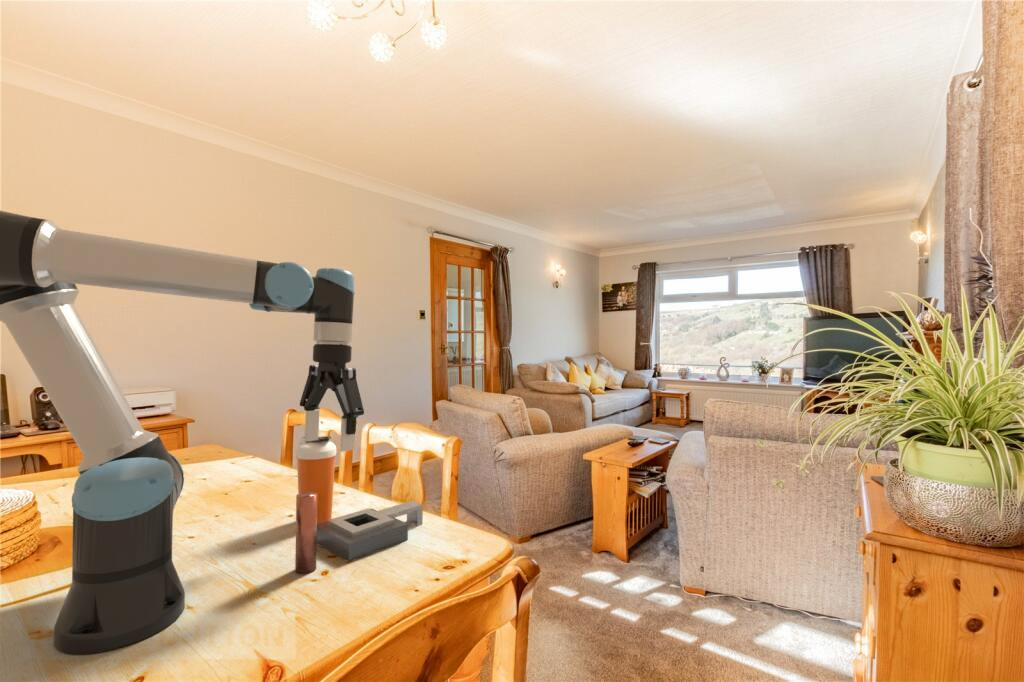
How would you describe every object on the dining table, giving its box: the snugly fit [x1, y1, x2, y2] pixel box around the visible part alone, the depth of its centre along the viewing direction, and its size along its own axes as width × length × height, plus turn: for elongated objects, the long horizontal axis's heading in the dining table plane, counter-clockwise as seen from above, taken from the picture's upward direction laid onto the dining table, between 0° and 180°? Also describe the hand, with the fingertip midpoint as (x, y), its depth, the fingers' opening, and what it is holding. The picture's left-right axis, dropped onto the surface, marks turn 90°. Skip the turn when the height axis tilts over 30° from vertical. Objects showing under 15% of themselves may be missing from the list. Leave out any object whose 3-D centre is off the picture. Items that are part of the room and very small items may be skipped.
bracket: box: [327, 500, 424, 538], centre depth 105 cm, size 20×10×4 cm, turn 139°
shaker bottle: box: [295, 435, 337, 524], centre depth 113 cm, size 9×9×20 cm
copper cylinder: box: [294, 492, 318, 576], centre depth 88 cm, size 4×4×14 cm
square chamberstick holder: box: [317, 508, 409, 563], centre depth 102 cm, size 14×14×4 cm
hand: (328, 445), depth 99 cm, fingers open, 13 cm apart
